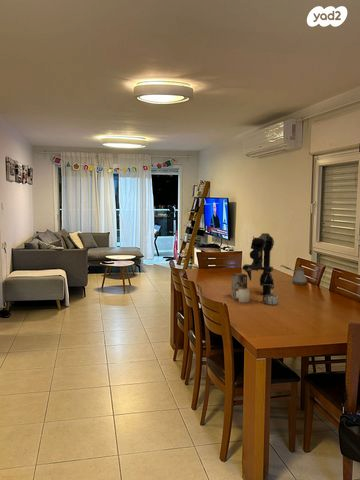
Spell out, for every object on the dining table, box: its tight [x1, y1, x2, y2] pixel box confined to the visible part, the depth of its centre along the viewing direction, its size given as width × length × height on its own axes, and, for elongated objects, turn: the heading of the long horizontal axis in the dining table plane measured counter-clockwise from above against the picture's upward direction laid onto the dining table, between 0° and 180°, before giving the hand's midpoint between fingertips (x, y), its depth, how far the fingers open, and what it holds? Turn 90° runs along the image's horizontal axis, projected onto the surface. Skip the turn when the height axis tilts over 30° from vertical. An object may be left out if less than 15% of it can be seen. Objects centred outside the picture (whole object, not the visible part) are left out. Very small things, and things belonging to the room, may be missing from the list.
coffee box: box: [230, 273, 248, 300], centre depth 281 cm, size 9×6×16 cm
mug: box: [236, 288, 250, 304], centre depth 272 cm, size 7×9×8 cm
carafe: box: [262, 294, 279, 306], centre depth 266 cm, size 7×10×5 cm
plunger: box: [269, 284, 276, 297], centre depth 265 cm, size 5×5×8 cm
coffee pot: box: [279, 264, 308, 286], centre depth 330 cm, size 21×12×15 cm, turn 87°
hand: (257, 281), depth 266 cm, fingers open, 9 cm apart
